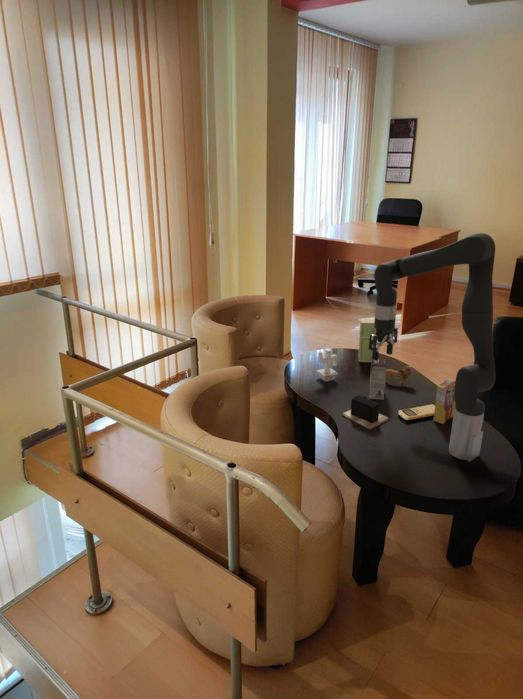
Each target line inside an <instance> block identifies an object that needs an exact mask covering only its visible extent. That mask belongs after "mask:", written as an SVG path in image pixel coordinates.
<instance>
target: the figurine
mask: <svg viewBox="0 0 523 699" xmlns="http://www.w3.org/2000/svg"><path fill="white" fill-rule="evenodd" d="M317 355H318V357H317V358H318V363H320V364H323V363H324V365H323V366H324V368H321V369H316V372H317V374H318V376H319V377H320V379H321V380H323V381H324V382H325V383H326V382H330V381H334V380H335V379H336V377H337V376H338V374H339V373H338V372H337V371H335V369H333V368H331V365H333V366H334V367H335V366H337V365H338V355H337V354H332V348H330V347H327V348H326V347H325V348H324V355H323V351H321V350H319V351H318V354H317ZM331 362H332V364H331Z"/></svg>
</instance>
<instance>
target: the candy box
mask: <svg viewBox="0 0 523 699" xmlns="http://www.w3.org/2000/svg"><path fill="white" fill-rule="evenodd" d="M455 381H456V380H453V379H449V378H448V379H446V380H444V381H442V382H441V383H440V384H438V385H437V386H436V394H435V401H434V402H435V403H434V411H433V412H434V413H433V421H434V422H436V423H439V424H441V425H444V424H445V423H446V422H447V421H449V420H450V419H453V417H454V411H455V399H454V393H455Z"/></svg>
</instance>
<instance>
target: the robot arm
mask: <svg viewBox="0 0 523 699" xmlns="http://www.w3.org/2000/svg"><path fill="white" fill-rule="evenodd" d="M495 257H496V243H495V240H494V238H492V236H490V235H489V234H487V233H485V232H484V233H483V232H480V233H474V234H473V233H471V234H468V235H467V236H465V237H463V238H461V239H459V240H457V241H454V242H452V243H450V244H448V245H445V246H443V247H439V248H435V249H432V250H427V251H422V252H419V253H415V254H412V255H408V256H405V257H403V258H398V259H394V260H389V261H385V262H382V263H380V264H379V265H377V266H376V268H375V271H374V284H375V290H376V300H375V301H376V302H375V305H376V306H375V309H374V319H375V321H374V328H375V329H376V334H374V335H373V334H370V339H369V350H372V351H373V353H372V359H373V360H376V361H377V360H378V357H380V356H379V354H380V349H381V347H382V346H383V345H384V344H385V343H387V344H386V352H385V353H386V354H387V355H393V348H394V345H395V343H397V342H398V332H399V331H398V330H399V329H398V327H396V321H397V320H396V319H397V296H398V294H397V293H398V292H397V290H396V289H395V288H394V287H393V282H394V281H396V280H400V279H403V278H406V277H407V278H409V277H415V276H419V275H422V274H427V273H430V272H432V271H433V272H434V271H436V270H439V269H441V268H445V267H450V266H457V265H458V266H459V265H468V281H467V285H466V289H465V293H464V294H463V295H464V296H463V299H462V304H461V325H462V329H463V331H464V333H465V335H466V337H467V338H468V340H469V342H470V344H471V345H472V348H473V355H474V356H473V360H474V361H473V364H471V365H467V366H463V367H460V368H459V369H458V371H457V373H456V376H455V380H454V381H455V393H454V399H455V407H454V416H453V417H452V424H451V432H450V438H449V443H448V444H449V445H448V452H449V454H450V455H451V456H452V457H454V458H456V459H459V460H463V461H468V462H472V461H473V460H475V459H476V458H477V457H479V456H480V453H481V446H482V441H483V435H484V431H483V430H482V426H483V423H484V422H483V421H484V415H485V410H486V404H485V402H484V401H482V400H481V399H479V398H478V393H482V392H486V391H488V390H491V389H492V388H494V385H495V383H496V366H495V364H496V363H495V356H494V343H493V342H494V341H493V340H494V338H493V336H494V335H493V332H494V331H493V330H494V329H493V325H494V319H493V318H494V302H493V300H494V298H493V297H494V296H493V295H494V294H493V293H494V292H493V289H494V288H493V276H494V275H493V274H494V273H493V272H494V264H495ZM372 344H373V346H372Z"/></svg>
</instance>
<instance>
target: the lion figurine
mask: <svg viewBox="0 0 523 699" xmlns="http://www.w3.org/2000/svg"><path fill="white" fill-rule="evenodd" d="M413 375H414V367H413V366H411V365H407V366H405V367H404V368H402V369H400V370H393V369H392V368H391V369H390V368H387V370H386V381H385V382H387V385H391V382H390V379H391V377H392V378H393V379H396V380H400V385H401V387H404V388H405V380H406V381H407V380H409V379H410V378H411V377H412V376H413Z"/></svg>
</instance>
